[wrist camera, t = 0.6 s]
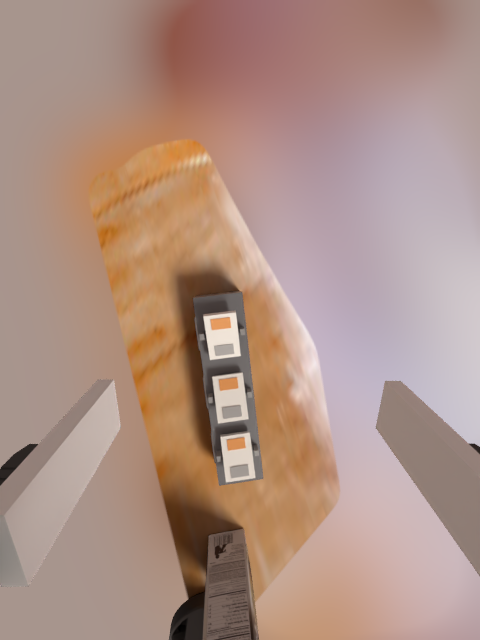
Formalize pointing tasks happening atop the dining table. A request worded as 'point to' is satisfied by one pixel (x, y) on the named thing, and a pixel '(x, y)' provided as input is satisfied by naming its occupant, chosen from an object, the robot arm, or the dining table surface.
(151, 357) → the dining table surface
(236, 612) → the coffee box
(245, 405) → the rocker middle
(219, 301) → the power strip
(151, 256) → the dining table surface
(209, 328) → the rocker front
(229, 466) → the rocker back
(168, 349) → the dining table surface
